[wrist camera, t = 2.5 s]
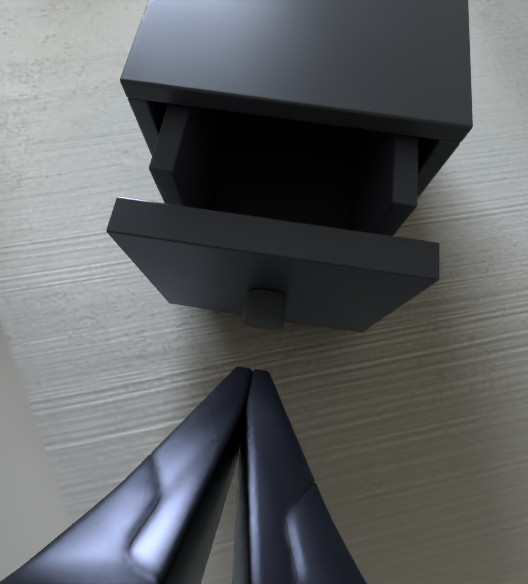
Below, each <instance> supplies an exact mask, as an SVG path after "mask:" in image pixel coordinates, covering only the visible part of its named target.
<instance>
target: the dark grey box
mask: <svg viewBox="0 0 528 584" xmlns="http://www.w3.org/2000/svg"><path fill="white" fill-rule="evenodd" d="M120 82H121V84H122V87H123V89H124V91H125V94H126V96H127V97H128V101H129V103H130V106H131V108H132V110H133V113H134V115H135V117H136V120H137V122H138V124H139V127H140V129H141V131H142V134H143V136H144V138H145V141H146V143H147V145H148V148H149V150H150V152H151V155H152V156H153V152H154V149H155V146H156V142H157V139H158V136H159V132H160V129H161V126H162V122H163V119H164V115H165V112H166V109H167V105H168V103H170V104H178V105H185V106H193V107H200V108H208V109H215V110H222V111H230V112H237V113H245V114H252V115H260V116H267V117H274V118H282V119H289V120H297V121H304V122H312V123H319V124H327V125H334V126H341V127H349V128H356V129H364V130H371V131H379V132H386V133H393V134H401V135H408V136H416V137H418V182H417V198H418V197H419V196H420V194H421V193H422V192H423V191H424V189H425V188H426V187H427V185H428V184H429V183H430V182H431V180H432V179H433V178H434V176H435V175H436V174H437V173H438V171H439V170H440V169H441V167H442V166H443V165H444V164H445V162H446V161H447V160H448V158H449V157H450V156H451V155H452V153H453V152H454V151H455V149H456V148H457V147H458V146H459V144H460V142H461V141H462V140H463V139H464V138H465V137H466V135H467V134H468V133H469V131H470V130H471V129H472V127H473V121H472V94H471V66H470V39H469V12H468V0H148V3H147V6H146V9H145V11H144V14H143V17H142V20H141V23H140V25H139V28H138V31H137V34H136V36H135V39H134V42H133V45H132V48H131V50H130V53H129V56H128V59H127V61H126V64H125V67H124V70H123V73H122V75H121V78H120Z"/></svg>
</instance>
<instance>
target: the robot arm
mask: <svg viewBox="0 0 528 584" xmlns="http://www.w3.org/2000/svg"><path fill="white" fill-rule="evenodd" d="M239 451H240V453H239ZM238 456H239V463H238V480H237V500H236V521H235V541H234V562H233V582H232V584H367V583H366V582H365V580H364V578H363V576H362V575H361V573H360V571H359V569H358V567H357V566H356V564H355V562H354V560H353V558H352V557H351V555H350V553H349V551H348V549H347V547H346V545H345V544H344V542H343V540H342V538H341V536H340V534H339V532H338V530H337V528H336V527H335V525H334V523H333V520H332V518H331V516H330V514H329V512H328V509H327V507H326V505H325V503H324V501H323V498H322V496H321V494H320V491H319V489H318V487H317V484H316V483H314V481H315V480H314V477H313V475H312V473H311V470H310V468H309V466H308V463H307V461H306V459H305V456H304V454H303V451H302V449H301V447H300V444H299V442H298V440H297V437H296V435H295V432H294V430H293V428H292V425H291V423H290V421H289V418H288V416H287V413H286V411H285V409H284V406H283V404H282V402H281V399H280V397H279V394H278V392H277V390H276V387H275V385H274V383H273V380H272V378H271V375H270V373H269V372H268V371H263V370H257V369H254V370H253V371H252V369H250V368H244V367H236V368H235V369H234V370H233V371H232V372H231V373H230V374H229V375H228V376H227V377H226V378H225V379H224V380H223V381H222V382H221V383H220V384H219V385H218V386H217V387H216V388H215V389H214V390H213V391H212V392H211V393H210V394H209V395H208V396H207V397H206V398H205V399H204V400H203V401H202V402H201V403H200V404H199V405H198V406H197V407H196V408H195V409H194V410H193V411H192V412H191V413H190V414H189V415H188V416H187V417H186V418H185V419H184V420H183V421H182V422H181V423H180V424H179V425H178V427H177V428H176V429H175V430H174V431H173V432H172V433H171V434H170V435H169V436H168V437H167V438H166V439H165V440H164V441H163V442H162V443H161V444H160V445H159V446H158V447H157V448H156V449H155V450H154V451H153V452H152V453H151V455H149V456H148V457H147V458H146V459H145V460H144V461H143V462H142V463H141V464H140V465H139V466H138V467H137V468H136V469H135V470H134V471H133V472H132V473H131V474H130V475H129V476H128V477H127V478H126V479H125V480H124V481H122V482H121V483H120V484H119V485H118V486H117V487H116V488H115V489H114V490H113V491H112V492H110V493H109V494H108V495H107V496H106V497H105V498H103V499H102V500H101V501H100V502H99V503H98V504H96V505H95V506H94V507H93V508H92V509H91V510H89V511H88V512H87V513H86V514H84V515H83V516H82V517H81V518H80V519H78V520H77V521H76V522H75V523H74V524H72V525H71V526H70V527H69V528H68V529H66V530H65V531H64V532H63V533H61V534H60V535H59V536H58V537H57V538H55V540H53V541H52V542H51V543H49V544H48V545H47V546H46V547H45V548H43V549H42V550H41V551H40V552H39V553H37V554H36V555H35V556H34V557H33V558H31V559H30V560H29V561H28V562H26V563H25V564H24V565H23V566H21V567H20V568H19V569H17V570H16V571H15V572H13V573H12V574H11V575H9V576H8V577H6V578H5V579H3V580H2V581H0V584H201V581H202V578H203V574H204V571H205V568H206V564H207V561H208V558H209V554H210V551H211V548H212V544H213V541H214V538H215V534H216V531H217V528H218V524H219V521H220V518H221V514H222V511H223V508H224V504H225V501H226V498H227V494H228V491H229V488H230V484H231V481H232V478H233V474H234V471H235V467H236V464H237V460H238Z"/></svg>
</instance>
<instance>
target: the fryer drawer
mask: <svg viewBox="0 0 528 584" xmlns="http://www.w3.org/2000/svg"><path fill="white" fill-rule="evenodd" d="M149 170H150V172H151V174H152V176H153V179H154V181H155V183H156V185H157V187H158V189H159V192H160V194H161V196H162V198H163V200H164V202H165V203H158V202H151V201H144V200H137V199H130V198H123V197H117V199H116V202H115V205H114V208H113V211H112V214H111V217H110V221H109V224H108V227H107V233H108V234H109V235H110V236H111V237H112V238H113V240H114V241H115V242H116V243H117V244H118V245H119V246H120V248H121V249H122V250H123V251H124V252H125V253H126V254H127V255H128V257H129V258H130V259H131V260H132V261H133V262H134V263H135V265H136V266H137V267H138V268H139V269H140V270H141V271H142V273H143V274H144V275H145V276H146V277H147V278H148V279H149V280H150V282H151V283H152V284H153V285H154V286H155V287H156V288H157V290H158V291H159V292H160V293H161V294H162V295H163V296H164V298H165V299H166V300H167V301H168V302H169V303H172V304H178V305H185V306H191V307H198V308H205V309H211V310H218V311H224V312H231V313H238V314H243V316H242V321H243V323H245V324H247V325H249V326H252V327H256V328H261V329H281V328H282V327H283V325H284V321H290V322H297V323H304V324H310V325H317V326H323V327H330V328H337V329H343V330H350V331H356V332H364V331H365V330H366V329H368V328H369V327H371V326H372V325H374V324H375V323H377V322H378V321H380V320H381V319H383V318H384V317H386V316H387V315H389V314H390V313H391V312H393V311H394V310H396V309H397V308H399V307H400V306H402V305H403V304H405V303H406V302H408V301H409V300H411V299H412V298H413V297H415V296H416V295H418V294H419V293H421V292H422V291H424V290H425V289H427V288H428V287H430V286H431V285H433V284H434V283H435V282H437V281H438V280H439V243H437V242H430V241H423V240H416V239H409V238H402V237H395V236H393V235H394V234H395V233H396V231H397V230H398V229H399V228H400V226H401V225H402V224H403V223H404V222H405V220H406V219H407V218H408V217H409V215H410V214H411V213H412V212H413V210H414V209H415V208H416V206H417V182H418V137H416V136H408V135H401V134H393V133H386V132H379V131H371V130H364V129H356V128H349V127H341V126H334V125H327V124H319V123H312V122H304V121H297V120H289V119H282V118H274V117H267V116H260V115H252V114H245V113H237V112H230V111H222V110H215V109H208V108H200V107H193V106H185V105H178V104H170V103H168V105H167V109H166V112H165V115H164V119H163V122H162V126H161V129H160V132H159V136H158V139H157V142H156V146H155V149H154V152H153V156H152V159H151V163H150V166H149Z"/></svg>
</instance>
